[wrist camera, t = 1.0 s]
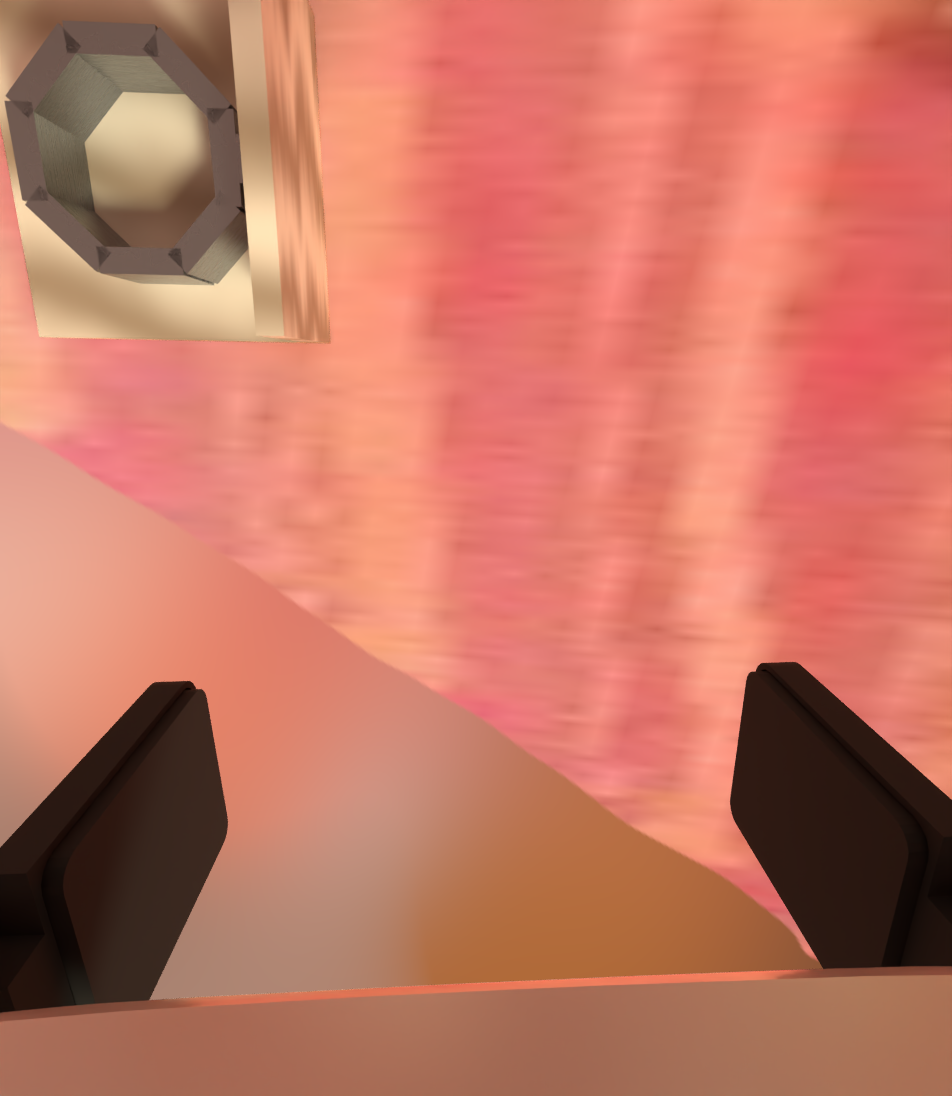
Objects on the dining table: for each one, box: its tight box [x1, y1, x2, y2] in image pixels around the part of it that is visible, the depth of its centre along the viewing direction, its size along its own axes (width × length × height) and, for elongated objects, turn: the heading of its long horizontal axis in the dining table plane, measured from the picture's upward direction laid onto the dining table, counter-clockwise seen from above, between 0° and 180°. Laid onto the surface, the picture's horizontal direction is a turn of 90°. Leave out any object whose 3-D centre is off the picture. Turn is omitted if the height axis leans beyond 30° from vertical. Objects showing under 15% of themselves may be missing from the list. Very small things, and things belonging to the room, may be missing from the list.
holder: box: [0, 0, 330, 343], centre depth 28 cm, size 16×16×10 cm
